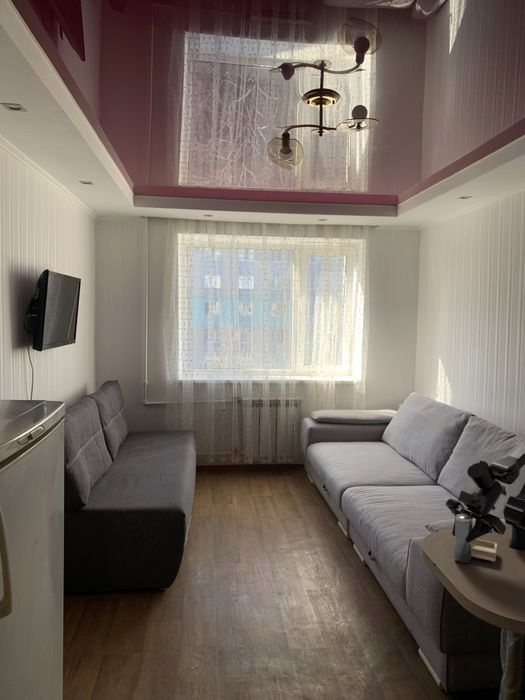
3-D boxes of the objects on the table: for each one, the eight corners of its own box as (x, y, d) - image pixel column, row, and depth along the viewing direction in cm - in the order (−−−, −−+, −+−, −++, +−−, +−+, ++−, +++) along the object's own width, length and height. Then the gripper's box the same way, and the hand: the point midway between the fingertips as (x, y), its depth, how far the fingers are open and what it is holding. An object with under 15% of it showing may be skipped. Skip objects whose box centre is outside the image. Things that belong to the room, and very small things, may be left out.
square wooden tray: (469, 548, 168) (469, 537, 168) (496, 553, 165) (497, 543, 164) (466, 558, 161) (467, 547, 161) (494, 564, 157) (495, 553, 157)
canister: (454, 554, 162) (456, 513, 161) (471, 557, 160) (473, 515, 159) (452, 560, 158) (454, 518, 157) (469, 564, 155) (471, 521, 155)
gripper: (450, 473, 167) (423, 512, 163) (501, 490, 151) (472, 535, 146) (466, 494, 171) (441, 532, 167) (517, 513, 155) (490, 556, 151)
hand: (459, 538), depth 158 cm, fingers closed on canister, 5 cm apart
